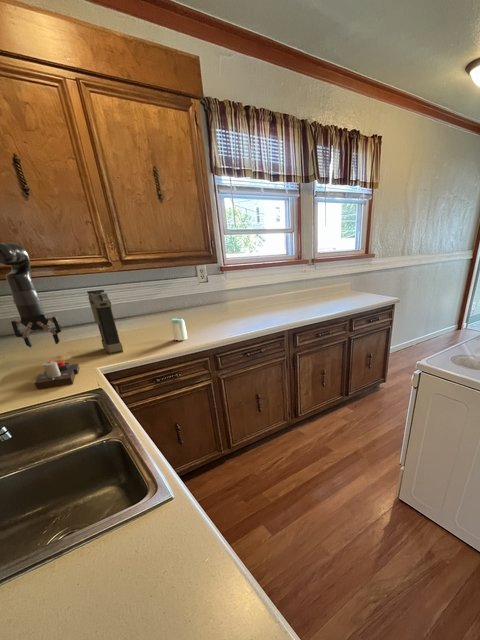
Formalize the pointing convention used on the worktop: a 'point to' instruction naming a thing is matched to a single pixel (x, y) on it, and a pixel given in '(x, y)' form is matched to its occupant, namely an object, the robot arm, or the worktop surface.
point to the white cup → (52, 369)
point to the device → (105, 321)
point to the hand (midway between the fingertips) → (44, 345)
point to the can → (179, 329)
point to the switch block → (68, 368)
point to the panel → (55, 380)
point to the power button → (60, 363)
